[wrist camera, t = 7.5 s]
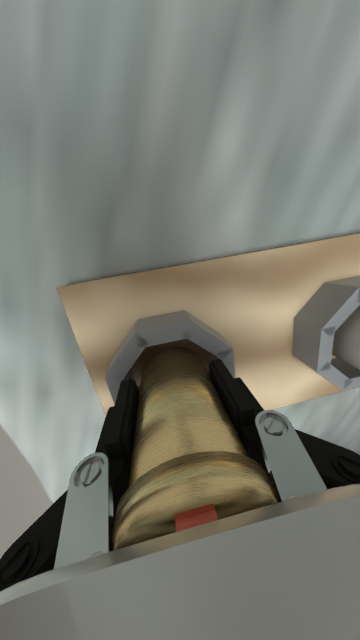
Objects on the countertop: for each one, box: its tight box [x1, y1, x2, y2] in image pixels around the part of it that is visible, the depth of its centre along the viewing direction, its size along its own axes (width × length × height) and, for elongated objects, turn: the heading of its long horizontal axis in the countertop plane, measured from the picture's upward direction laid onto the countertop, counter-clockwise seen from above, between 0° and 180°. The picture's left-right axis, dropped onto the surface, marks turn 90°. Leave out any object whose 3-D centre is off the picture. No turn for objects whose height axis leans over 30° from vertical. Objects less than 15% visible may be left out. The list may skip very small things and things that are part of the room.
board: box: [56, 233, 360, 415], centre depth 15 cm, size 14×24×2 cm, turn 100°
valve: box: [111, 347, 280, 551], centre depth 9 cm, size 6×5×9 cm
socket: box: [105, 310, 236, 405], centre depth 13 cm, size 8×8×2 cm
